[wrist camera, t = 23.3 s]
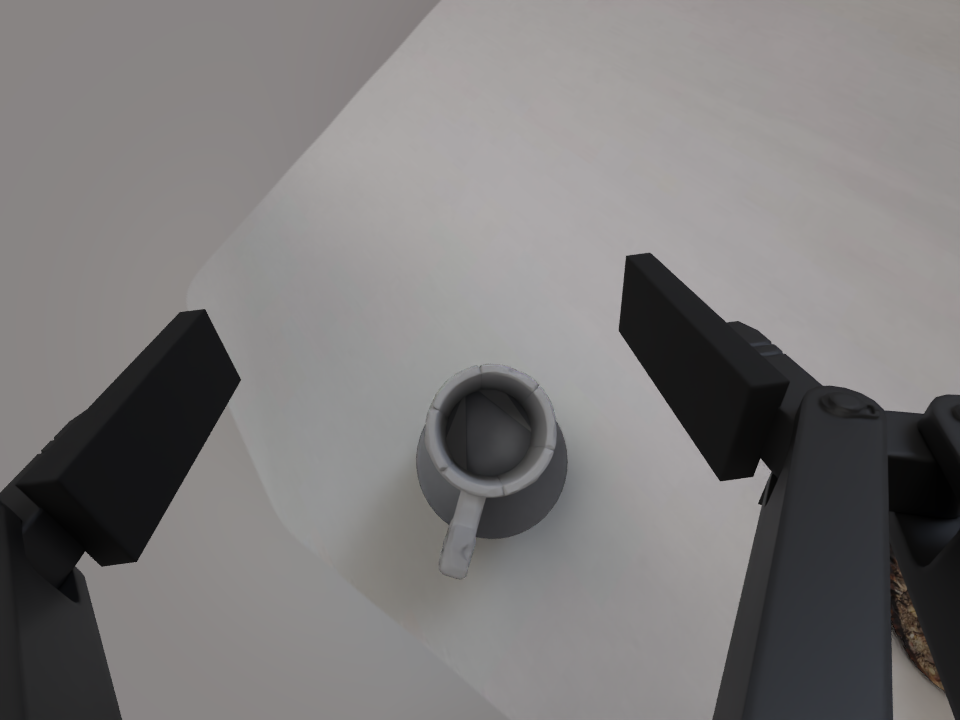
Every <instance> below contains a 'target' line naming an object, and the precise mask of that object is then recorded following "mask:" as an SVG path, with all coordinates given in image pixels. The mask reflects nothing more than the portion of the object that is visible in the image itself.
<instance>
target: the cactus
mask: <svg viewBox="0 0 960 720" xmlns="http://www.w3.org/2000/svg"><path fill="white" fill-rule="evenodd" d="M889 545H890V596H891V615H892V616H891V621H892V622H893V624H892V625H893V626H894V628H895V630H896V633H897V634H898V635H899V636H900V637H902V638H903V640H904V642H905V643H906V647H905V648H906V651H907V653H908V654H909V656H910V658H911V659H912V660H913V661H914V663H915V664H916V665H917V667H918V668H919V669H920V670H921V671H922V672H923V673H924V674H925V675H926V676H928V678H929V679H930V680H931V681H932V682H933V683H934V684H935V685H937V686H939V687H940V688H941V689H942V690H944V688H943V685H942V682H941V680H940V677H939V674H938V672H937V669H936V666H935V663H934V661H933V658H932V655H931V653H930V650H929V647H928V644H927V642H926V639H925V636H924V634H923V631H922V628H921V625H920V623H919V620H918V617H917V615H916V612H915V609H914V607H913V604H912V601H911V598H910V596H909V593H908V590H907V588H906V585H905V582H904V579H903V577H902V574H901V571H900V569H899V566H898V563H897V560H896V558H895V555H894V552H893V550H892V547H891V544H890V542H889ZM944 691H945V690H944Z"/></svg>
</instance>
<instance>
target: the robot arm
mask: <svg viewBox="0 0 960 720" xmlns="http://www.w3.org/2000/svg"><path fill="white" fill-rule="evenodd" d="M619 332H620V333H621V335H622V336H623V338H624V339H625V341H626V342H627V344H628V345H629V347H630V348H631V350H632V351H633V353H634V354H635V356H636V357H637V359H638V360H639V362H640V363H641V365H642V366H643V368H644V369H645V371H646V372H647V373H648V375H649V376H650V378H651V379H652V381H653V382H654V384H655V385H656V387H657V388H658V390H659V391H660V393H661V394H662V396H663V397H664V399H665V400H666V402H667V403H668V405H669V406H670V408H671V409H672V411H673V412H674V414H675V415H676V417H677V418H678V420H679V421H680V423H681V424H682V425H683V427H684V428H685V430H686V431H687V433H688V434H689V436H690V437H691V439H692V440H693V442H694V443H695V445H696V446H697V448H698V449H699V451H700V452H701V454H702V455H703V457H704V458H705V460H706V461H707V463H708V464H709V466H710V467H711V469H712V470H713V472H714V473H715V475H716V476H717V477H718V479H719V480H720V481H726V480H733V479H740V478H748V477H753V476H754V473H755V471H756V468H757V466H758V463H759V460H760V458H761V459H762V460H763V462H764V463H765V464H766V465H767V466H768V468H769V469H770V470H771V471H772V472H771V474H770V477H769V479H768V481H767V484H766V486H765V489H764V491H763V493H762V496H761V498H760V500H759V503H758V504H760V505H762V507H761V512H760V516H759V520H758V525H757V529H756V533H755V537H754V542H753V546H752V550H751V555H750V559H749V563H748V568H747V572H746V576H745V581H744V585H743V589H742V594H741V598H740V602H739V607H738V611H737V615H736V620H735V624H734V628H733V633H732V637H731V641H730V646H729V650H728V654H727V659H726V663H725V667H724V672H723V676H722V680H721V685H720V689H719V693H718V698H717V702H716V706H715V711H714V715H713V719H712V720H893V699H892V648H891V596H890V545H889V542H890V544H891V547H892V550H893V552H894V555H895V558H896V560H897V563H898V566H899V569H900V571H901V574H902V577H903V579H904V582H905V585H906V588H907V590H908V593H909V596H910V598H911V601H912V604H913V607H914V609H915V612H916V615H917V617H918V620H919V623H920V625H921V628H922V631H923V634H924V636H925V639H926V642H927V644H928V647H929V650H930V653H931V655H932V658H933V661H934V663H935V666H936V669H937V672H938V674H939V677H940V680H941V682H942V685H943V688H944V690H945V693H946V696H947V699H948V701H949V704H950V707H951V709H952V712H953V715H954V718H955V720H960V395H943V396H939V397H936V398H935V399H934V400H933V401H932V402H931V403H930V405H929V407H928V408H927V410H926V411H925V413H924V414H919V413H908V412H896V411H884V409H883V408H881V407H880V406H879V405H878V404H877V403H876V402H875V401H874V400H872V399H870V398H868V397H867V396H865V395H863V394H861V393H859V392H856V391H853V390H850V389H847V388H842V387H835V386H822V385H821V384H820V383H819V382H818V381H816V380H815V379H814V378H813V377H812V376H811V375H809V374H808V373H807V372H806V371H805V370H804V369H802V368H801V367H800V366H799V365H798V364H797V363H795V362H794V361H793V360H792V359H791V358H790V357H788V356H787V355H786V354H783V353H782V351H781V350H780V349H779V348H778V347H777V346H775V345H774V344H771V341H770V340H768V339H767V338H766V337H765V336H764V335H763V334H761V333H760V332H759V331H758V330H756V329H754V328H752V327H750V326H747V325H745V324H743V323H741V322H739V321H735V322H728V323H726V322H725V321H724V320H723V319H722V318H721V317H720V316H719V315H717V314H716V313H715V312H714V311H713V310H712V309H711V308H710V307H709V306H708V305H707V304H705V303H704V302H703V301H702V300H701V299H700V298H699V297H698V296H697V295H696V294H695V293H694V292H692V291H691V290H690V289H689V288H688V287H687V286H686V285H685V284H684V283H683V282H682V281H680V280H679V279H678V278H677V277H676V276H675V275H674V274H673V273H672V272H671V271H670V270H668V269H667V268H666V267H665V266H664V265H663V264H662V263H661V262H660V261H659V260H658V259H657V258H655V257H654V256H653V255H652V254H651V253H645V254H637V255H629V256H626V263H625V273H624V283H623V293H622V303H621V313H620V323H619ZM240 381H241V379H240V377H239V375H238V373H237V371H236V369H235V367H234V365H233V363H232V361H231V359H230V357H229V355H228V353H227V351H226V349H225V347H224V345H223V343H222V341H221V339H220V338H219V336H218V334H217V332H216V330H215V328H214V326H213V324H212V322H211V320H210V318H209V316H208V314H207V312H206V310H205V309H202V310H194V311H186V312H180V313H179V314H178V315H177V316H176V317H175V318H174V319H173V320H172V321H171V322H170V323H169V324H168V325H167V326H166V327H165V329H163V330H162V331H161V333H160V334H159V335H158V336H157V337H156V338H155V339H154V340H153V341H152V342H151V343H150V344H149V345H148V346H147V347H146V348H145V349H144V350H143V351H142V352H141V353H140V354H139V356H138V357H137V358H136V359H135V360H134V361H133V362H132V363H131V364H130V365H129V366H128V367H127V368H126V369H125V370H124V371H123V372H122V373H121V374H120V375H119V377H118V378H117V379H116V380H115V381H114V382H113V383H112V384H111V385H110V386H109V387H108V388H107V389H106V390H105V391H104V392H103V393H102V394H101V395H100V396H99V398H97V399H96V401H95V402H94V403H93V404H92V405H91V406H90V407H89V408H88V409H87V410H86V411H84V412H83V413H82V414H80V415H79V416H77V417H75V418H74V419H73V420H71V421H70V422H69V423H68V424H67V425H66V426H65V427H64V428H63V429H62V430H61V431H60V432H59V433H58V434H57V435H56V436H55V437H54V440H53V441H50V442H49V443H48V444H47V445H46V446H45V447H44V448H43V449H42V450H41V451H42V453H41V454H37V455H36V457H35V458H34V459H33V460H32V461H31V462H30V463H29V464H28V465H27V466H26V467H25V468H24V469H23V470H22V471H21V472H20V473H19V474H18V475H17V476H16V477H15V478H14V479H13V480H12V481H11V482H10V483H9V484H8V485H7V486H6V487H5V488H4V489H3V490H2V492H1V493H0V720H122V718H121V714H120V710H119V706H118V702H117V699H116V695H115V691H114V687H113V684H112V679H111V676H110V672H109V668H108V664H107V660H106V657H105V653H104V649H103V645H102V641H101V638H100V634H99V630H98V626H97V622H96V618H95V614H94V611H93V607H92V603H91V599H90V596H89V592H88V588H87V584H86V580H85V577H84V575H83V574H82V573H81V571H79V570H78V569H77V568H76V567H75V565H76V564H77V562H78V561H79V559H80V558H81V556H82V555H83V554H84V552H85V551H86V552H87V553H88V554H89V555H90V556H91V557H92V558H93V559H94V560H95V561H96V562H97V563H98V564H99V565H101V566H102V567H103V566H110V565H116V564H124V563H132V562H137V560H138V558H139V557H140V555H141V553H142V552H143V550H144V548H145V547H146V545H147V543H148V541H149V539H150V538H151V536H152V534H153V533H154V531H155V529H156V527H157V526H158V524H159V522H160V520H161V519H162V517H163V515H164V513H165V512H166V510H167V508H168V506H169V504H170V503H171V501H172V499H173V498H174V496H175V494H176V492H177V491H178V489H179V487H180V485H181V484H182V482H183V480H184V478H185V477H186V475H187V473H188V472H189V470H190V468H191V466H192V465H193V463H194V461H195V459H196V458H197V456H198V454H199V452H200V451H201V449H202V447H203V445H204V444H205V442H206V440H207V438H208V437H209V435H210V433H211V431H212V430H213V428H214V426H215V424H216V423H217V421H218V419H219V417H220V416H221V414H222V412H223V410H224V409H225V407H226V405H227V404H228V402H229V400H230V398H231V397H232V395H233V393H234V391H235V390H236V388H237V386H238V384H239V383H240Z"/></svg>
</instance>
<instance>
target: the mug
mask: <svg viewBox="0 0 960 720" xmlns="http://www.w3.org/2000/svg"><path fill="white" fill-rule="evenodd" d="M538 386H539V384H538V383H537V382H536V381H535V380H533V379H532V378H531V377H530V376H528V375H527V374H525V373H522V372H519V371H517V370H515V369H513V368H510V367H508V366H504V365H496V364H485V365H481V366H480V367H479V366H473V367H470V368H467V369H465V370H463V371H461V372H459V373H457V374H456V375H454V376H453V377H451V378H450V379H448V380H447V381H446V382H445V383H444V385H443V386H442V387H441V388H440V389H439V391H438V392H437V394H436V395H435V397H434V399H433V401H432V403H431V406H430V408H429V411H428V414H427V419H426V426H425V437H424V441H425V445H426V449H427V451H428V453H429V455H430V457H431V460H432V462H433V464H434V465H435V467H436V469H437V470H438V471H439V473H440V474H441V475H442V476H443V477H444V478H445V479H446V480H447V481H448V482H449V483H450V484H451V485H453V486H454V487H456V488H457V489H459V490H460V491H461V492H460V496H459V499H458V503H457V507H456V510H455V514H454V517H453V519H452V520H451V522H450V525H449V528H448V531H447V534H446V536H445V539H444V542H443V548H442V551H441V554H440V559H439V570H440V572H441V573H442V574H444V575H446V576H449V577H453V578H456V579H464V578H465V577H466V576H467V572H468V567H469V564H470V561H471V557H472V554H473V550H474V547H475V544H476V540H475V537H476V532H477V528H478V525H479V521H480V517H481V514H482V510H483V507H484V503H485V499H486V498H496V497H503V496H507V495H511V494H514V493H516V492H518V491H520V490H522V489H524V488H526V487H528V486H529V485H531V484H533V483H534V482H535V481H536V480H537V479H538V478H539V476H540V475H541V474H542V473H543V471H544V470H545V469H546V467H547V466H548V464H549V462H550V460H551V458H552V456H553V453H554V452H553V450H554V449H555V446H556V437H557V431H556V418H555V414H554V410H553V407H552V404H551V402H550V399H549V398H548V396H547V394H546V393H545V391H544V390H543V389H542V388H541V387H539V388H538ZM477 391H480V392H481V393H482V394H483V395H485V396H486V397H487V398H488V399H490V400H491V401H492V402H494V403H495V404H496V405H497V406H499V407H500V408H501V409H503V410H504V411H505V412H506V413H508V414H509V415H510V416H512V417H513V418H514V419H515V420H517V421H518V422H519V423H520V424H522V425H523V426H524V427H526V428H527V429H528V430H529V431H531V441H530V447H529V448H528V451H527V453H526V455H525V457H524V458H523V459H522V461H521V462H520V463H519V464H518V465H517V466H516V467H514V468H513V469H512V470H510V471H508V472H506V473H503V474H500V475H498V476H481V475H477V474H474V473H472V472H469V471H468V470H467V466H466V404H465V396H467V395H469V394H471V393H473V392H477ZM507 394H508V395H510V396H512V397H513V398H514V399H516V400H517V401H518V402H519V403H520V404H521V406H522V407H523V408H524V410H525V411H526V413H527V415H528V417H529V420H530V424H531V428H530V426H529V425H528V424H527V422H526V421H525V419H524V418H523V417H522V415H521V414H520V412H519V411H518V410H517V408H516V407H515V405H514V404H513V403H512V401H511V400H510V398H509V397H508V396H507ZM460 400H461V402H460V404H459V407H458V410H457V412H456V415H455V417H454V420H453V422H452V425H451V427H450V430H449V432H448V435H447V437H446V426H447V422H448V417H449V416H450V414H451V412H452V410H453V408H454V407H455V405H456V404H457V403H458V402H459V401H460Z"/></svg>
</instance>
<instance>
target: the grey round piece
mask: <svg viewBox="0 0 960 720" xmlns="http://www.w3.org/2000/svg"><path fill="white" fill-rule="evenodd" d="M507 396H508V397H509V398H510V400H511V401H512V403H513V404H514V405H515V407H516V408H517V410H518V411H519V412H520V414H521V415H522V417H523V418H524V419H525V421H526V422H527V424H528V425H529V426H530V428H531V424H530V420H529V417H528V415H527V413H526V411H525V410H524V408H523V407H522V406H521V404H520V403H519V402H518V401H517V400H516V399H514V398H513V397H512V396H510V395H508V394H507ZM460 402H461V400H460V401H459V402H458V403H457V404H456V405H455V407H454V408H453V410H452V412H451V414H450V416H449V417H448V422H447V426H446V437H447V435H448V432H449V430H450V427H451V425H452V422H453V420H454V417H455V415H456V412H457V410H458V407H459V404H460ZM465 404H466V466H467V470H468V471H469V472H472V473H474V474H477V475H481V476H498V475H500V474H503V473H506V472H508V471H510V470H512V469H513V468H514V467H516V466H517V465H518V464H519V463H520V462H521V461H522V459H523V458H524V457H525V455H526V453H527V451H528V448H529V447H530V441H531V431H529V430H528V429H527V428H526V427H524V426H523V425H522V424H520V423H519V422H518V421H517V420H515V419H514V418H513V417H512V416H510V415H509V414H508V413H506V412H505V411H504V410H503V409H501V408H500V407H499V406H497V405H496V404H495V403H494V402H492V401H491V400H490V399H488V398H487V397H486V396H485V395H483V394H482V393H481V392H480V391H477V392H473V393H471V394H469V395H467V396H465ZM425 426H426V424H425ZM425 426H424V428H423V431H422V433H421V436H420V439H419V443H418V448H417V456H416V466H417V474H418V479H419V483H420V486H421V489H422V491H423V494H424V496H425V498H426V500H427V501H428V503H429V505H430V506H431V507H432V509H433V510H434V511H435V513H436V514H437V515H438V516H439V517H440V518H441V519H442V520H443V521H445V522H446V523H447V524H449V525H450V522H451V520H452V519H453V517H454V514H455V510H456V507H457V503H458V499H459V496H460V492H461V491H460V490H459V489H457V488H456V487H454V486H453V485H451V484H450V483H449V482H448V481H447V480H446V479H445V478H444V477H443V476H442V475H441V474H440V473H439V471H438V470H437V469H436V467H435V465H434V464H433V462H432V460H431V457H430V455H429V453H428V451H427V449H426V445H425V441H424V437H425ZM556 431H557V437H556V446H555V449H554V450H553V452H554V453H553V456H552V458H551V460H550V462H549V464H548V466H547V467H546V469H545V470H544V471H543V473H542V474H541V475H540V476H539V478H538V479H537V480H536V481H535V482H534V483H533V484H531V485H529V486H528V487H526V488H524V489H522V490H520V491H518V492H516V493H514V494H511V495H507V496H503V497H496V498H486V499H485V503H484V507H483V510H482V514H481V517H480V521H479V525H478V528H477V532H476V537H479V538H487V539H497V538H505V537H510V536H514V535H517V534H520V533H522V532H524V531H526V530H528V529H530V528H531V527H533V526H534V525H536V524H537V523H539V522H540V521H541V520H542V519H543V518H544V517H545V516H546V515H547V514H548V513H549V512H550V511H551V509H552V508H553V506H554V505H555V503H556V502H557V500H558V498H559V496H560V494H561V492H562V489H563V486H564V483H565V479H566V474H567V463H568V460H567V449H566V444H565V440H564V437H563V434H562V431H561V429H560V427H559V425H558V423H557V422H556Z"/></svg>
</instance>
